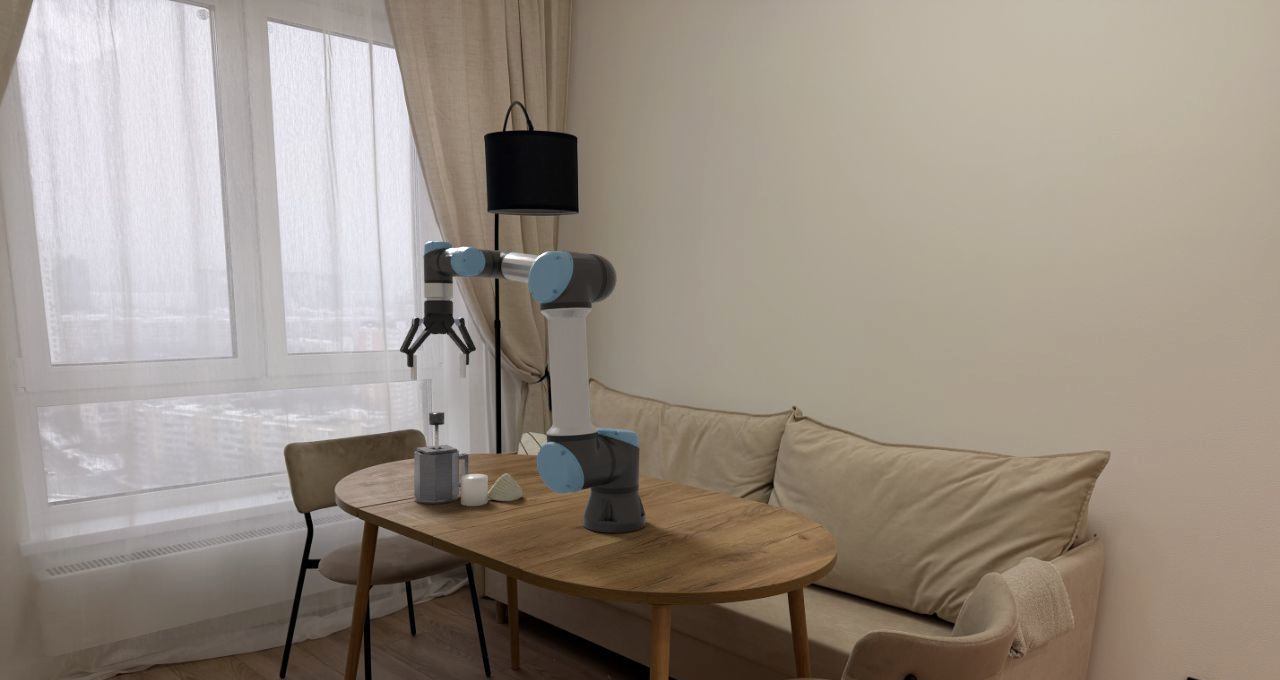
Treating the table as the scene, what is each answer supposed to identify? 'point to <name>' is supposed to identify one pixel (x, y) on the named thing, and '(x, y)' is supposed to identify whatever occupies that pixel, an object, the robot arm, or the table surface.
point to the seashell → (505, 489)
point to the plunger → (436, 424)
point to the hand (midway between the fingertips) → (438, 378)
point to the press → (438, 474)
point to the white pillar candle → (474, 489)
